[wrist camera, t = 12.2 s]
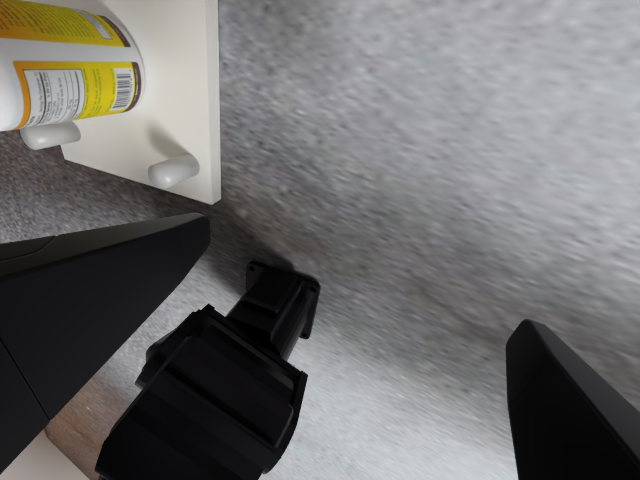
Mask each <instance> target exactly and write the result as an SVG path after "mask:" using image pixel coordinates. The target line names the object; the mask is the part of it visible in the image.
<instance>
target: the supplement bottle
mask: <svg viewBox="0 0 640 480" xmlns="http://www.w3.org/2000/svg"><path fill="white" fill-rule="evenodd" d="M145 84H146V78H145V70H144V66H143V62H142V59H141V56H140V54H139V52H138V49H137V47H136V46H135V44H134V42H133V41H132V39H131V38H130V36H129V35H128V34H127V33H126V31H125V30H124V29H123V28H122V27H121V26H120V25H119V24H118V23H116V22H115V21H114V20H112V19H111V18H109V17H107V16H105V15H103V14H100V13H97V12H93V11H87V10H80V9H74V8H68V7H61V6H55V5H49V4H42V3H36V2H29V1H24V0H0V131H9V130H15V129H21V128H28V127H34V126H40V125H47V124H54V123H60V122H67V121H73V120H79V119H85V118H92V117H98V116H105V115H111V114H118V113H123V112H127V111H130V110H132V109H134V108H135V107H136V106H137V105H138V104H139V103H140V102H141V100H142V98H143V96H144V92H145Z"/></svg>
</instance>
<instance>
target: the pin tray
mask: <svg viewBox="0 0 640 480" xmlns="http://www.w3.org/2000/svg"><path fill="white" fill-rule="evenodd" d="M24 1H29V2H36V3H42V4H49V5H55V6H61V7H68V8H74V9H80V10H87V11H93V12H97V13H100V14H103V15H105V16H107V17H109V18H111V19H112V20H114V21H115V22H116V23H118V24H119V25H120V26H121V27H122V28H123V29H124V30H125V31H126V33H127V34H128V35H129V36H130V38H131V39H132V41H133V42H134V44H135V46H136V47H137V49H138V52H139V54H140V56H141V59H142V62H143V66H144V70H145V78H146V84H145V92H144V96H143V98H142V100H141V102H140V103H139V104H138V105H137V106H136V107H135V108H134V109H132V110H130V111H127V112H123V113H118V114H111V115H105V116H98V117H92V118H85V119H79V120H73V121H67V122H60V123H54V124H47V125H40V126H34V127H28V128H21V129H20V134H21V137H22V139H23V141H24V142H25V143H26V145H27V146H29V147H30V148H31V149H34V150H38V149H42V148H47V147H52V146H57V145H61V148H62V151H63V155H64V158H65V159H66V160H69V161H72V162H75V163H79V164H82V165H85V166H88V167H91V168H95V169H98V170H101V171H104V172H108V173H111V174H114V175H117V176H120V177H124V178H127V179H130V180H133V181H137V182H140V183H143V184H146V185H149V186H153V187H156V188H159V189H162V190H165V191H169V192H172V193H175V194H178V195H182V196H185V197H188V198H191V199H194V200H198V201H201V202H204V203H207V204H211V205H213V204H214V203H216V202H217V201H219V200H221V163H220V102H219V41H218V0H24Z"/></svg>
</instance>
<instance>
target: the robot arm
mask: <svg viewBox="0 0 640 480" xmlns="http://www.w3.org/2000/svg"><path fill="white" fill-rule="evenodd" d="M209 244H210V220H209V218H208V217H207V216H205V215H202V214H199V213H189V214H183V215H177V216H171V217H165V218H159V219H153V220H146V221H140V222H134V223H128V224H122V225H116V226H110V227H103V228H97V229H91V230H85V231H79V232H73V233H67V234H61V235H58V236H48V237H42V238H36V239H29V240H22V241H16V242H9V243H2V244H0V474H1V473H2V472H3V471H4V470H5V469H6V468H7V467H8V466H9V465H10V464H11V463H12V461H13V460H14V459H15V458H16V457H17V456H18V455H19V454H20V453H21V452H22V451H23V450H24V449H25V448H26V447H27V445H29V444H30V442H31V441H32V440H33V439H34V438H35V437H36V436H37V435H38V434H39V433H40V432H41V431H42V430H43V429H44V428H45V427H46V426H47V424H48V423H49V422H50V420H51V419H53V418H54V417H55V416H56V415H57V414H58V412H59V411H60V410H61V409H62V408H63V407H64V406H65V405H66V404H67V403H68V402H69V401H70V400H71V399H72V398H73V397H74V396H75V394H76V393H77V392H78V391H79V390H80V389H81V388H82V387H83V386H84V385H85V384H86V383H87V382H88V381H89V380H90V379H91V377H92V376H93V375H94V374H95V373H96V372H97V371H98V370H99V369H100V368H101V367H102V366H103V365H104V364H105V363H106V362H107V361H108V359H109V358H110V357H111V356H112V355H113V354H114V353H115V352H116V351H117V350H118V349H119V348H120V347H121V346H122V345H123V344H124V343H125V341H126V340H127V339H128V338H129V337H130V336H131V335H132V334H133V333H134V332H135V331H136V330H137V329H138V328H139V327H140V326H141V324H142V323H143V322H144V321H145V320H146V319H147V318H148V317H149V316H150V315H151V314H152V313H153V312H154V311H155V310H156V309H157V308H158V306H159V305H160V304H161V303H162V302H163V301H164V300H165V299H166V298H167V297H168V296H169V295H170V294H171V293H172V292H173V291H174V289H175V288H176V287H177V286H178V285H179V284H180V283H181V281H182V280H183V279H184V278H185V277H186V275H187V274H188V273H189V271H190V270H191V269H192V267H193V266H194V265H195V263H196V262H197V261H198V259H199V258H200V257H201V255H202V254H203V253H204V252H205V250H206V249H207V248H208V246H209ZM252 266H253V267H254V268H255V269H254V268H253V267H252ZM312 287H314V288H315V289H313V288H312ZM320 289H321V288H320V285H319V284H318V283H316V282H314V281H311V280H308V279H305V278H302V277H299V276H296V275H293V274H290V273H287V272H284V271H281V270H278V269H275V268H272V267H270V266H267V265H264V264H261V263H258V262H255V261H251V262H250V263H249V264H248V265H247V271H246V292H245V294H244V295H243V296H242V297H241V298H240V300H239V301H238V302H237V303H236V304H235V306H234V307H233V308H232V309H231V310H230V312H229V313H228V314H227V315H226V317H224V316H223V315H222V314H220V313H219V312H217V311H216V310H215V308H214V307H213V306H211V305H210V304H207V305H206V306H205V307H204V308H203V309H202V310H200V309H199V310H198V311H196V312H192V313H191V314H190V315H189V316H188V317H187V318H186V319H185V320H184V321H183V322H182V323H181V324H180V325H179V326H178V327H177V328H175V329H174V330H173V331H171V332H170V333H168V334H167V335H165V336H164V337H162V338H161V339H159V340H158V341H157V342H155V343H154V344H152V345H151V346H150V347H149V349H148V350H147V351H146V364H145V365H144V367H143V369H142V372H141V374H140V375H139V377H138V378H137V380H136V382H135V385H136V386H137V387H139V388H140V389H142V391H141V392H140V393H139V395H138V396H137V397H136V398H135V400H134V401H133V402H132V403H131V405H130V406H129V407H128V408H127V410H126V411H125V412H124V413H123V415H122V416H121V417H120V418H119V420H118V421H117V422H116V423H115V425H114V426H113V428H112V429H111V431H110V434H109V436H108V437H107V438H106V440H105V441H104V443H103V445H102V448H101V451H100V454H99V457H98V460H97V463H96V467H95V472H96V473H98V474H99V475H100V476H99V480H258V479H259V477H260V476H261V474H262V473H263V474H267V473H268V472H269V471H271V469H272V468H273V467H274V466H275V465H276V464H277V462H278V461H279V460H280V458H281V456H282V455H283V453H284V452H285V450H286V448H287V446H288V444H289V442H290V440H291V438H292V436H293V433H294V431H295V428H296V425H297V422H298V418H299V413H300V409H301V404H302V400H303V395H304V391H305V386H306V382H307V377H308V375H307V374H306V373H305V372H303V371H299V370H298V369H297V368H295V367H294V366H293V365H291V364H290V363H288V362H287V360H288V358H289V356H290V354H291V352H292V350H293V348H294V346H295V344H296V342H297V340H298V338H299V337H300V338H303V339H308V338H309V337H310V335H311V331H312V326H313V322H314V317H315V312H316V308H317V303H318V298H319V294H320ZM506 377H507V403H508V412H509V419H510V426H511V432H512V439H513V446H514V452H515V459H516V466H517V472H518V479H519V480H640V412H639V411H638V410H637V409H636V408H635V407H634V406H633V405H632V404H630V403H629V402H628V401H627V400H626V399H625V398H624V397H623V396H622V395H621V394H620V393H619V392H617V391H616V390H615V389H614V388H613V387H612V386H611V385H610V384H609V383H608V382H607V381H606V380H604V379H603V378H602V377H601V376H600V375H599V374H598V373H597V372H596V371H595V370H594V369H593V368H591V367H590V366H589V365H588V364H587V363H586V362H585V361H584V360H583V359H582V358H581V357H580V356H578V355H577V354H576V353H575V352H574V351H573V350H572V349H571V348H570V347H569V346H568V345H567V344H565V343H564V342H563V341H562V340H561V339H560V338H559V337H558V336H557V335H556V334H555V333H554V332H552V331H551V330H550V329H549V328H548V327H547V326H546V325H544V324H542V323H539V322H536V321H533V320H530V319H525V320H523V321H522V322H521V323H520V324H519V326H518V327H517V328H516V330H515V331H514V332H513V334H512V335H511V336H510V338H509V339H508V341H507V344H506Z"/></svg>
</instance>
